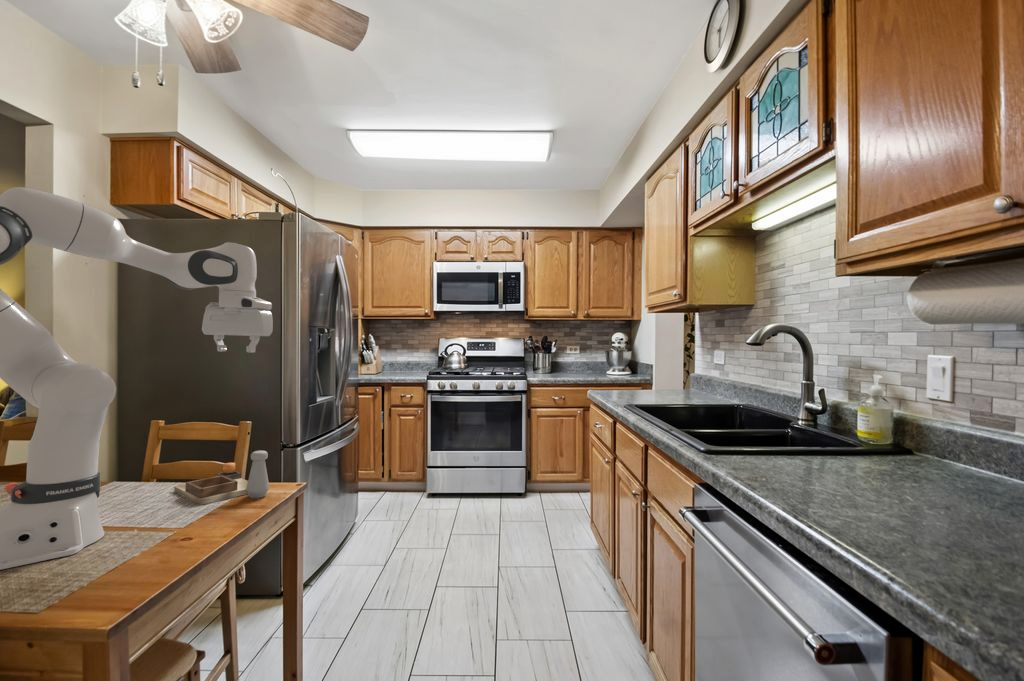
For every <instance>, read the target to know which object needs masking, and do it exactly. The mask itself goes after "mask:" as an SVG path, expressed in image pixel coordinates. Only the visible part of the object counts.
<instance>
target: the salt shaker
mask: <svg viewBox="0 0 1024 681" xmlns="http://www.w3.org/2000/svg"><path fill="white" fill-rule="evenodd" d="M268 456H269V454H268V452H267V451H266V450H255V451H253V452H251V454H250V459H251V461H252V463H251V468H250V471H249V475H248V483H247V487H246V491H247V493H248V494H247V496H248V497H249V498H250V499H261V498H264V497H263V496H266V495H267V493H268V491H269V489H270V482H269V477H268V471H267V466H266V465H267V464H266V460H267V459H268ZM260 497H261V498H260Z"/></svg>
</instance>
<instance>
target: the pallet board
mask: <svg viewBox="0 0 1024 681" xmlns="http://www.w3.org/2000/svg"><path fill="white" fill-rule="evenodd" d="M247 483H248V480H247V479H245V478H242V472H239V471H237V470H235V472H233V473H223V472H218V473H216V476H211V477H207V478H202V479H201V478H200V479H197V480H192V481H191V480H190V481H186V482H185V484H179V485H174V486H173V488H174V489H173V490H174V492H175V493H176V494H179V495H180V496H182V497H184V498H187V499H188V500H190V501H192V502H194V503H195V504H198V505H200V506H203V505H206V504H211V503H216V502H220V501H224V500H228V499H231V498H237V497H240V496H244V495H248V493H247V491H246V487H247Z"/></svg>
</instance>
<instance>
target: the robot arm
mask: <svg viewBox="0 0 1024 681" xmlns="http://www.w3.org/2000/svg"><path fill="white" fill-rule="evenodd" d="M27 244H35V245H36V244H37V245H43V246H46V247H49V248H52V249H56V250H60V251H63V252H66V253H70V254H74V255H79V256H82V257H87V258H93V259H97V260H98V259H99V260H105V261H110V262H111V261H112V262H117V263H120V264H124V265H127V266H129V267H133V268H136V269H140V270H142V271H146V272H149V273H152V274H155V275H157V276H159V277H161V278H163V279H164V280H165V281H167V282H168V283H169V284H171V285H172V286H174V287H176V288H178V289H180V290H184V291H185V290H186V291H193V290H197V289H202V288H208V287H218V302H214V301H211V302H209V304H207V306H205V311H204V313H203V318H202V324H201V332H202V333H203V335H209V336H213V340H214V342H215V344H216V350H217V352H221V353H222V352H227V350H228V349H227V345H225V343H224V339H225V336H246V337H247V336H249V340H250V342H249V345H246V350H245V352H246V353H254V354H255V353H256V348H257V345H259V344H258V343H259V342H260V337H270V336H271V335H272V333H273V329H274V327H273V326H274V325H273V324H274V320H273V314H272V312H271V311H270V310H272V308H273V304H272V302H270V301H267V300H265V299H262V298H260V297H257V290H256V281H257V277H258V276H257V274H258V273H257V272H258V270H257V266H258V264H257V257H256V254H255V251H254V250H253V249H252V248H251V247H250V246H248V245H245V244H243V243H237V242H233V241H229V242H224V243H223V244H220V245H218V246H215V247H210V248H205V249H197V250H193V251H187V252H178V253H177V252H168V251H164V250H162V249H159V248H156V247H153V246H150V245H147V244H145V243H142V242H140V241H137V240H134V239H133V238H131V237H130V236H129V235H128V234H127V233H126V229H125V228H124V225H123V224H122V223H121V221H120V220H119V219H118V218H117V217H115V216H113V215H111V214H110V213H107V212H106V211H103V210H101V209H99V208H96V207H94V206H91V205H88V204H87V203H83V202H80V201H77V200H74V199H71V198H67V197H65V196H61V195H58V194H54V193H50V192H47V191H42V190H38V189H34V188H29V187H23V186H19V187H18V186H16V187H11V188H9V189H7V190H5V191H3V192H2V193H1V194H0V266H1V265H4V264H6V263H8V262H10V261H11V260H12V259H14V258H16V256H18V254H19V253H20V252H21V251H22V250H23V248H24V247H25V246H26V245H27ZM0 380H1V381H3V382H4V383H5V384H6V385H7V386H8V387H10V389H12V390H13V391H14V392H16V394H17V395H19V396H20V397H22V398H23V400H25V401H26V402H28V403H29V404H30V405H32V406H33V407H35V408H37V409H38V414H37V415H38V416H37V419H36V422H35V427H34V430H33V435H32V436H31V438H30V440H29V442H28V445H27V456H26V457H27V459H26V460H27V461H26V479H25V481H22V482H21V483H17V482H10V483H7V484H6V485H4V492H6V493H7V494H10V501H11V502H9V503H7V504H6V505H4V506H3V507H2V508H0V571H1V570H6V569H10V568H14V567H19V566H24V565H29V564H34V563H38V562H42V561H47V560H48V561H49V560H51V559H52V560H53V559H57V558H58V559H59V558H61V557H62V558H63V557H67V556H71V555H75V554H77V553H79V552H80V551H81V550H83V549H84V548H85V547H87V546H89V545H91V544H93V543H94V544H95V542H97V541H99V540H101V539H102V538H103V537H104V535H105V531H104V528H103V524H102V521H101V516H100V511H99V510H100V509H99V497H100V493H101V488H102V487H101V483H102V482H101V481H102V479H101V473H100V472H99V459H100V458H99V457H100V456H99V455H100V442H101V441H100V439H101V435H102V430H103V427H104V424H105V421H106V417H107V414H108V411H109V410H108V409H109V406H110V404H112V402H113V401H114V399H115V397H116V394H117V386H116V385H117V384H116V383H115V380H114V379H113V377H111V376H110V374H108V373H107V372H106V371H105V370H103V369H102V368H99V367H97V366H96V365H92V364H91V365H90V364H87V363H86V364H84V363H79V362H78V361H76V360H74V359H73V358H72V357H71V356H70V354H68V353H67V352H66V351H65V350H64V349H63V347H62V346H61V345H60V344H59V343H58V342H57V341H56V339H55V338H54V337H53V335H52V333H51V332H50V331H49V330H48V329H47V328H46V327H45V326H44V325H43V324H42V323H41V322H40V321H38V320H37V319H36V318H35V317H34V316H33V315H31V313H29V312H28V311H27V310H26V309H25V308H24V307H22V306H21V305H20V304H19V303H18V302H17V301H16V300H15V299H14V298H12V297H11V296H10V295H9V294H8V293H6V292H5V291H4V290H3V289H2V288H0Z"/></svg>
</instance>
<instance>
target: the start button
mask: <svg viewBox="0 0 1024 681" xmlns="http://www.w3.org/2000/svg"><path fill="white" fill-rule="evenodd" d="M222 469H223V470H222V473H233V472H235V471H236V462H225V463H223V468H222Z"/></svg>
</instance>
